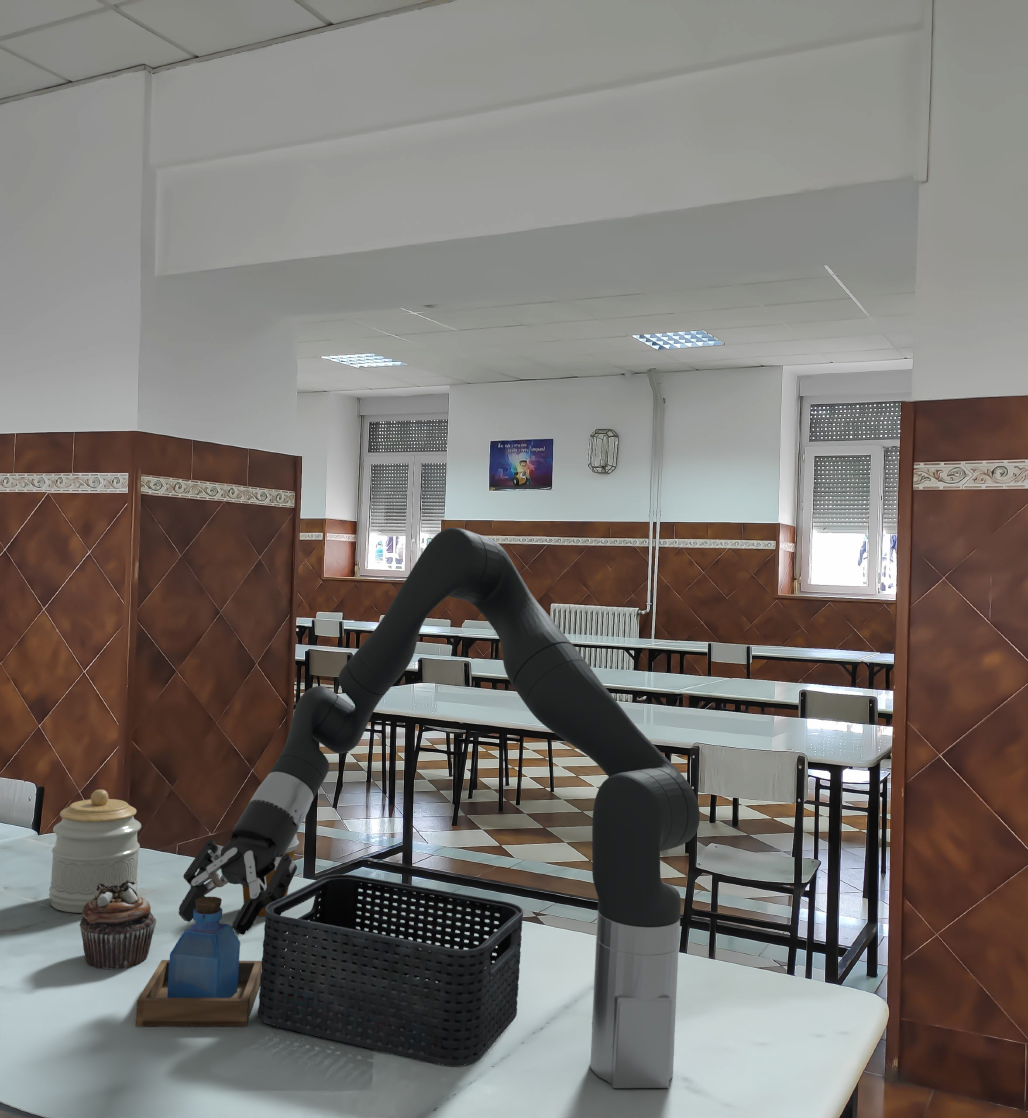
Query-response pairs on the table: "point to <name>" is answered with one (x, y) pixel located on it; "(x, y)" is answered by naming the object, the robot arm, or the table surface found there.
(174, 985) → the perfume bottle
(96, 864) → the jar
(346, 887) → the storage bin
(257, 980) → the tray
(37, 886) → the table surface
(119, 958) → the cupcake
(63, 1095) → the table surface
